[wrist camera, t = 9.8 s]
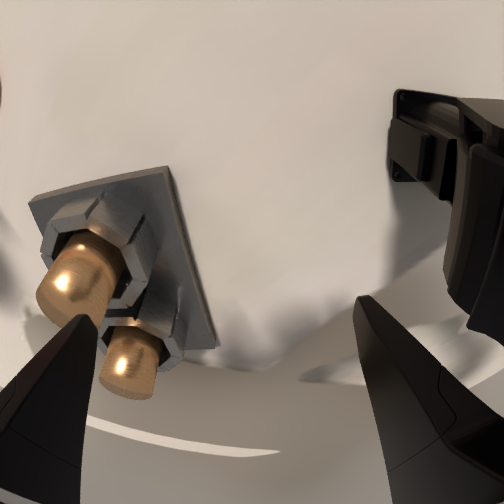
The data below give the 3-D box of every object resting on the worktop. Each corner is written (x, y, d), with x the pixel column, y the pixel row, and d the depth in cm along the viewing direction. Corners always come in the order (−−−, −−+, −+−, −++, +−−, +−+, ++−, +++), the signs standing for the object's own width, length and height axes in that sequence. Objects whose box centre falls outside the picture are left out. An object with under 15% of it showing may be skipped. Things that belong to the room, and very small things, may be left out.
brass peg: (140, 261, 21) (113, 335, 16) (92, 266, 22) (60, 334, 16) (119, 209, 19) (77, 279, 13) (69, 220, 19) (23, 284, 13)
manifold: (35, 195, 19) (-24, 258, 12) (167, 165, 18) (124, 235, 12) (112, 340, 30) (93, 403, 23) (215, 339, 29) (210, 413, 22)
